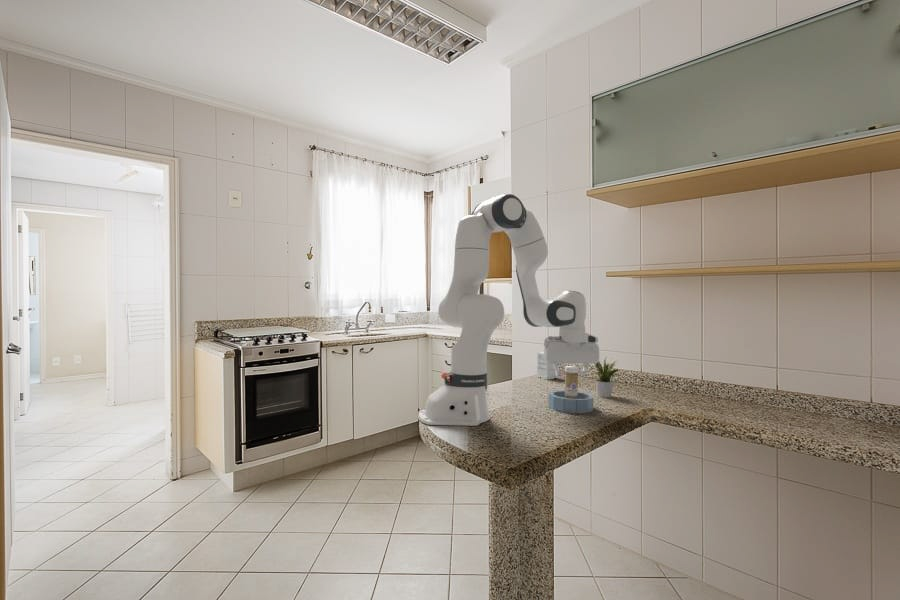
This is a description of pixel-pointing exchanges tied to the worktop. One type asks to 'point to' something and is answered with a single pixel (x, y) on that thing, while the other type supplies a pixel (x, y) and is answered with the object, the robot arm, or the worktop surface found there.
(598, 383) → the house plant
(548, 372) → the white canister
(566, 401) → the bowl
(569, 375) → the sprinkles bottle
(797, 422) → the worktop surface
